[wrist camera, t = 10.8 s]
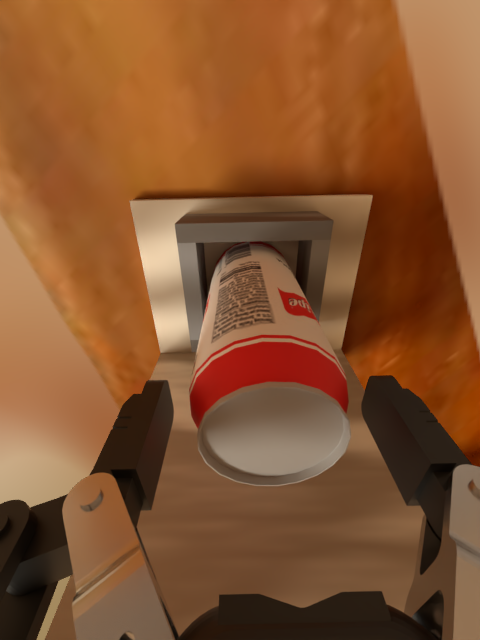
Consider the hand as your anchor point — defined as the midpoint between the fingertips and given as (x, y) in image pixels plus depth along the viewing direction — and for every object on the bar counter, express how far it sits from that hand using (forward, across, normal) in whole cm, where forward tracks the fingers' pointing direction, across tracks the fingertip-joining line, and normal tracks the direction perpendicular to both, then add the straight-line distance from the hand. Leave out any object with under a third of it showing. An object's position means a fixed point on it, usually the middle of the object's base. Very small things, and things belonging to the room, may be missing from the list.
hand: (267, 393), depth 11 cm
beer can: (+14, 0, 0) cm, 14 cm away
